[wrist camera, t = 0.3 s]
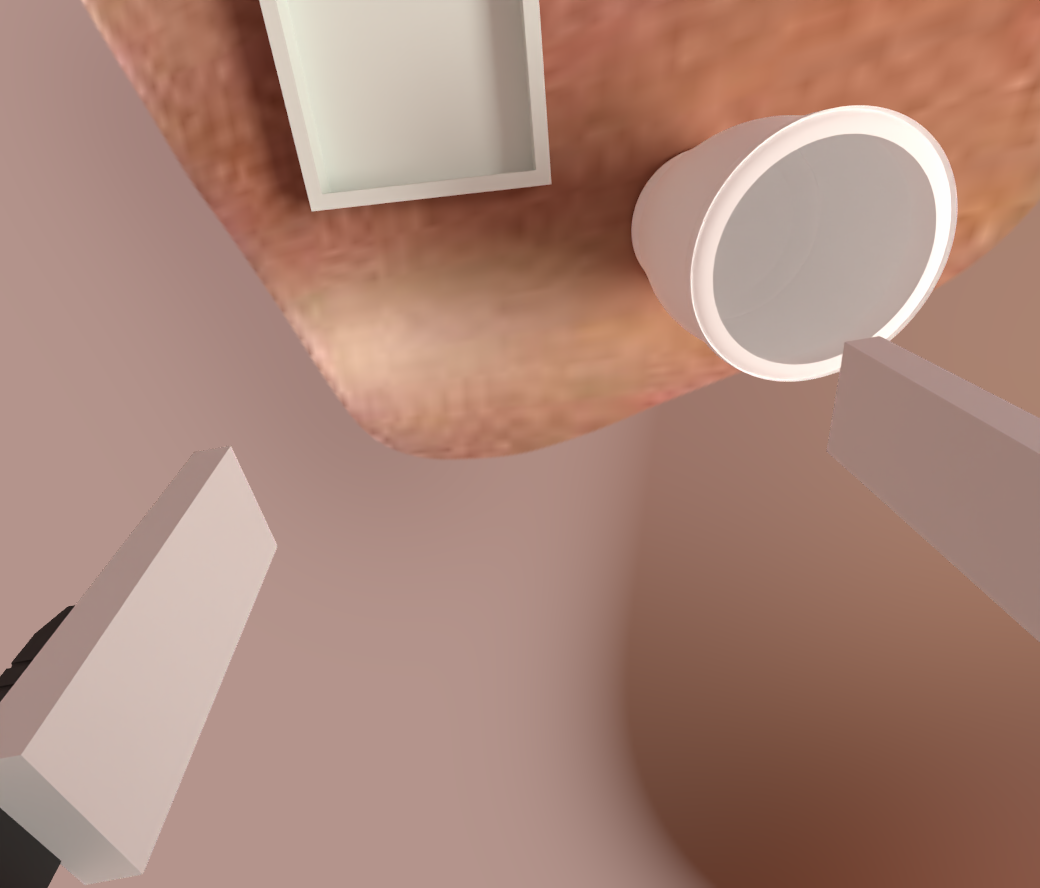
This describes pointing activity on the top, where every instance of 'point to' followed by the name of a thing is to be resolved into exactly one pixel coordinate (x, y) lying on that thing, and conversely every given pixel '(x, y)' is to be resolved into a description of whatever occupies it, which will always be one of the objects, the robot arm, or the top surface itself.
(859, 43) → the top surface
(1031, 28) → the top surface
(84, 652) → the robot arm
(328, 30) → the tray
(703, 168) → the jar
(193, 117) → the top surface
